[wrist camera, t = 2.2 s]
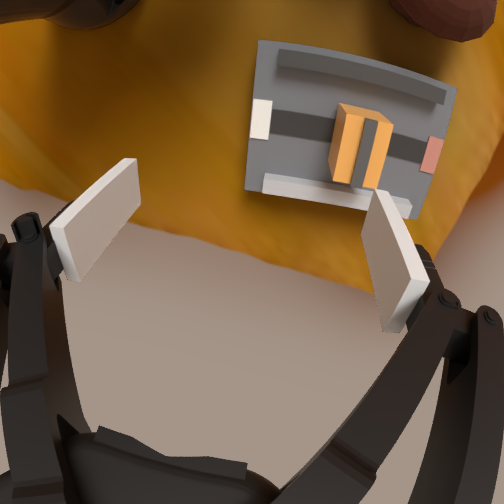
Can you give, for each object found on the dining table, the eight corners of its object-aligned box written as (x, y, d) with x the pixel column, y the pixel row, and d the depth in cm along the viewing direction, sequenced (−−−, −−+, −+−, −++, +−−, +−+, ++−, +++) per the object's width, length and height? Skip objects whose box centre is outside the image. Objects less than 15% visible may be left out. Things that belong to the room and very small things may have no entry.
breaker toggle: (327, 160, 29) (333, 183, 25) (338, 102, 26) (347, 115, 21) (365, 167, 29) (377, 192, 25) (379, 112, 26) (395, 126, 21)
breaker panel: (249, 175, 36) (242, 196, 32) (262, 40, 27) (256, 39, 22) (407, 203, 36) (420, 227, 31) (441, 82, 26) (464, 90, 21)
